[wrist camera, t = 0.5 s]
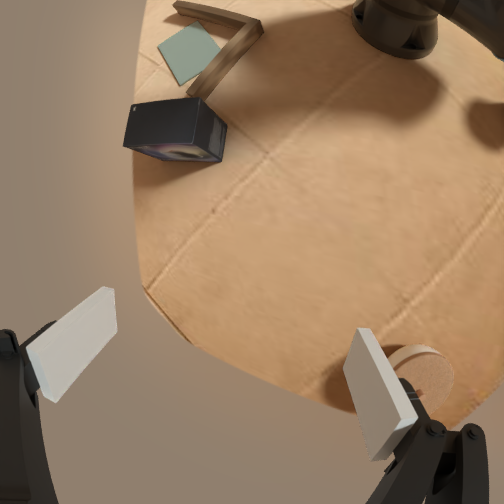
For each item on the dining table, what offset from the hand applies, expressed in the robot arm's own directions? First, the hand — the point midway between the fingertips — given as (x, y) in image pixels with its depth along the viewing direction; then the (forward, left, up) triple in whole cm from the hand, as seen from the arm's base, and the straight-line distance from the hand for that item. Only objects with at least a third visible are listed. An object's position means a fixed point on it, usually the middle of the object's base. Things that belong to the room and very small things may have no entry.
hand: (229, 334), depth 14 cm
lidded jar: (0, +24, -25) cm, 35 cm away
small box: (-7, -22, -25) cm, 34 cm away
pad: (-21, -35, -25) cm, 48 cm away
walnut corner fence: (-21, -35, -25) cm, 48 cm away
